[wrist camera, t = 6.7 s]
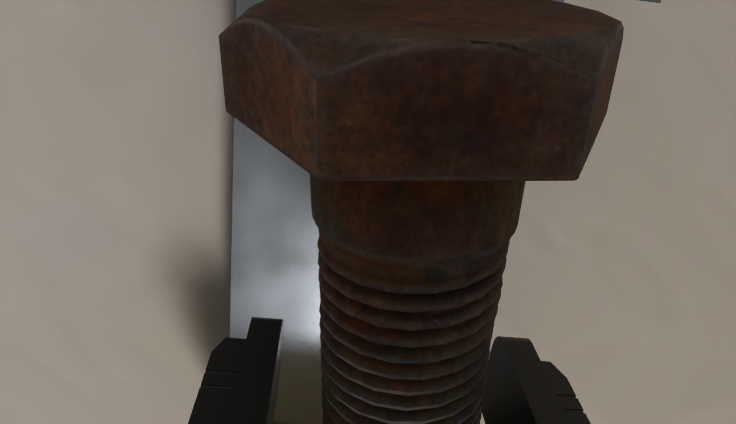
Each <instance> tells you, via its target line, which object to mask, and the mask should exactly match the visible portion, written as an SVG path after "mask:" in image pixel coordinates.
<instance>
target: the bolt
mask: <svg viewBox="0 0 736 424" xmlns="http://www.w3.org/2000/svg"><path fill="white" fill-rule="evenodd" d="M623 30H624V28H623V25H622V22H621V21H619V20H617V19H614V18H612V17H610V16H608V15H605V14H603V13H601V12H599V11H595V10H591V9H587V8H583V7H579V6H575V5H571V4H567V3H563V2H558V1H553V0H264V1H262V2H259V3H257V4H255V5H253V6H251V7H250V8H249V9H248V10H246V11H245V12H244V13H243V14H242V15H241V16H240V17H239V18H237V19H236V20H235V21H234V22H233V23H232V24H231V25H230V26H229V27H227V28H226V29H225V30H224V31H223V32H222V33H221V34H220V35H219V43H220V53H221V64H222V74H223V84H224V95H225V105H226V111H227V112H228V113H229V114H230V115H232V116H233V117H234V118H236V119H237V120H238V121H240V122H241V123H242V124H244V125H245V126H246V127H248V128H249V129H250V130H252V131H253V132H254V133H256V134H257V135H258V136H260V137H261V138H263V139H264V140H265V141H267V142H268V143H269V144H271V145H272V146H273V147H275V148H276V149H277V150H279V151H280V152H281V153H283V154H284V155H285V156H287V157H288V158H289V159H291V160H292V161H293V162H295V163H296V164H297V165H299V166H300V167H301V168H303V169H304V170H306V171H307V172H308V173H310V190H311V210H312V217H313V219H314V222H315V224H316V226H317V227H318V230H319V238H318V242H317V247H318V250H319V252H318V265H319V276H318V280H319V283H320V284H319V288H320V299H321V302H320V307H319V312H320V315H321V316H320V323H319V326H320V331H321V332H320V344H321V348H320V352H321V373H322V378H321V382H322V408H323V416H322V418H323V422H322V423H321V424H480V420H481V413H482V407H483V402H484V395H485V391H486V380H487V373H488V366H489V365H488V358H489V354H490V350H489V349H490V343H491V338H492V333H493V327H494V321H495V317H496V314H497V310H498V303H499V300H500V297H501V287H502V275H503V272H504V270H505V265H506V255H507V252H508V247H509V240H510V238H511V237H512V235H513V234H514V233H515V231H516V228H517V225H518V220H519V214H520V209H521V203H522V197H523V192H524V186H525V181H573V180H577V179H578V178H579V175H580V173H581V171H582V169H583V166H584V164H585V162H586V160H587V157H588V155H589V153H590V151H591V148H592V146H593V144H594V141H595V139H596V136H597V134H598V132H599V129H600V127H601V125H602V122H603V120H604V118H605V115H606V113H607V108H608V104H609V99H610V95H611V90H612V86H613V81H614V77H615V72H616V67H617V63H618V58H619V54H620V49H621V45H622V40H623Z"/></svg>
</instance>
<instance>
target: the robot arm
mask: <svg viewBox="0 0 736 424" xmlns="http://www.w3.org/2000/svg"><path fill="white" fill-rule="evenodd" d="M282 335H283V319H274V318H261V317H252V318H251V322H250V326H249V330H248V334H247V338H246V339H241V338H227V337H226V338H225V339H224V340H223V341H222V342H221V343H220V344H219V345H218V346H217V347H216V348H215V349H214V350H213V351H212V352H211V355H210V359H209V362H208V365H207V368H206V373H205V374H204V377H203V380H202V383H201V388H200V389H199V392H198V395H197V398H196V401H195V404H194V407H193V410H192V413H191V416H190V419H189V422H188V424H273V421H274V414H275V408H276V401H277V394H278V385H279V376H280V363H281V349H282ZM488 365H489V366H488V373H487V380H486V391H485V395H484V402H483V407H482V414H483V417H484V421H485V424H591V423H590V422H589V420H588V418H587V416H586V414H585V413H583V408H582V406H581V404H580V402H579V401H578V399H576V395H575V393H574V391H573V389H572V387H571V385H570V383H569V381H568V380H567V378H566V377H565V376H564V375H563V374H562V373H561V372H560V371H559V370H558V369H557V368H556V367H555V366H554V365H553V364H552V363H551V362H546V361H540V359H539V357H538V355H537V352H536V350H535V348H534V346H533V344H532V342H531V341H530V340H529V339H526V338H513V337H500V336H498V337H496V338H495V340H494V342H493V345H492V349H491V353H490V356H489V360H488Z"/></svg>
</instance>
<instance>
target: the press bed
mask: <svg viewBox="0 0 736 424" xmlns="http://www.w3.org/2000/svg"><path fill="white" fill-rule="evenodd" d="M262 1H264V0H236V19H237V18H239V17H240V16H241V15H242V14H243V13H244V12H245V11H246V10H248V9H249V8H250V7H251V6H253V5H255V4H257V3H259V2H262ZM553 1H558V2H563V1H564V0H553ZM641 1H648V2H656V3H660V2H661V0H641ZM318 238H319V230H318V227H317V226H316V224H315V222H314V219H313V217H312V210H311V190H310V173H308V172H307V171H306V170H304V169H303V168H301V167H300V166H299V165H297V164H296V163H295V162H293V161H292V160H291V159H289V158H288V157H287V156H285V155H284V154H283V153H281V152H280V151H279V150H277V149H276V148H275V147H273V146H272V145H271V144H269V143H268V142H267V141H265V140H264V139H263V138H261V137H260V136H258V135H257V134H256V133H254V132H253V131H252V130H250V129H249V128H248V127H246V126H245V125H244V124H242V123H241V122H240V121H238V120H237V119H236V118H234V140H233V193H232V246H231V300H230V338H241V339H246V338H247V334H248V330H249V326H250V322H251V318H252V317H261V318H274V319H283V335H282V349H281V363H280V376H279V385H278V394H277V401H276V408H275V414H274V421H273V424H321V423H322V422H323V418H322V416H323V408H322V382H321V378H322V373H321V352H320V348H321V344H320V332H321V331H320V326H319V323H320V316H321V315H320V312H319V307H320V302H321V299H320V288H319V284H320V283H319V280H318V276H319V265H318V252H319V250H318V247H317V242H318Z"/></svg>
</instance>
